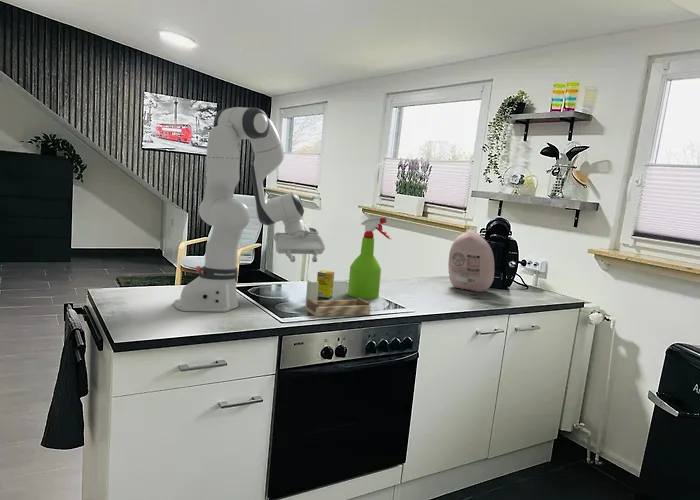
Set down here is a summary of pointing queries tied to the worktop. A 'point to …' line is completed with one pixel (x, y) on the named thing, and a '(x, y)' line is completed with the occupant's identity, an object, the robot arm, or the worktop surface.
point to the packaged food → (471, 263)
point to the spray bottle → (367, 264)
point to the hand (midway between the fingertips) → (304, 261)
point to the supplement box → (325, 284)
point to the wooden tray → (338, 307)
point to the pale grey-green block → (312, 290)
